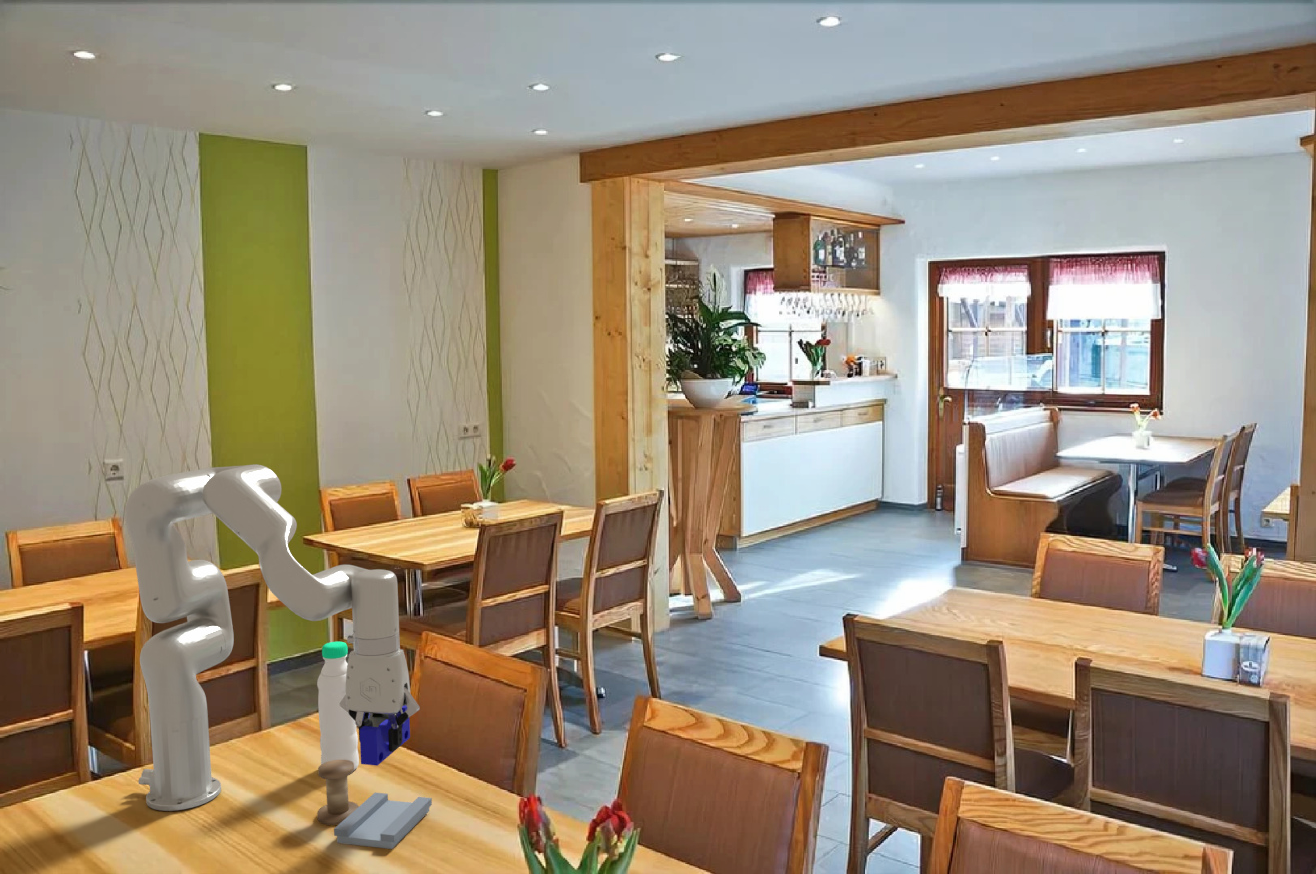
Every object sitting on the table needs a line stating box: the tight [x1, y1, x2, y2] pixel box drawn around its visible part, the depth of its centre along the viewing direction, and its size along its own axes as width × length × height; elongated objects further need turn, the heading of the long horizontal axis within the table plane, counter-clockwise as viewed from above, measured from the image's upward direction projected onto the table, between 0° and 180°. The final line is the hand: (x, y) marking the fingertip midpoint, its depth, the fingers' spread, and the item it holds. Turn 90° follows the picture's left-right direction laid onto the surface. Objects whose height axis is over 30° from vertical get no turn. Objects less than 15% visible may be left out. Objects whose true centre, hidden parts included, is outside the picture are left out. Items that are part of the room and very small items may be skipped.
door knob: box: [316, 759, 360, 826], centre depth 187 cm, size 7×7×9 cm
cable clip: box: [359, 705, 411, 767], centre depth 182 cm, size 12×4×6 cm, turn 167°
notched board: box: [333, 792, 433, 850], centre depth 183 cm, size 11×14×2 cm
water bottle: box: [316, 641, 360, 771], centre depth 205 cm, size 7×7×25 cm
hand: (381, 746), depth 181 cm, fingers closed on cable clip, 4 cm apart
